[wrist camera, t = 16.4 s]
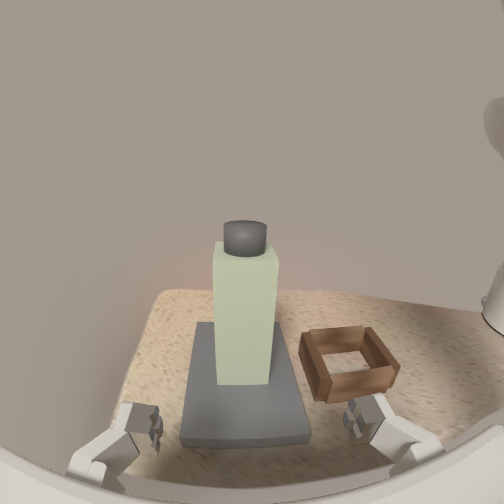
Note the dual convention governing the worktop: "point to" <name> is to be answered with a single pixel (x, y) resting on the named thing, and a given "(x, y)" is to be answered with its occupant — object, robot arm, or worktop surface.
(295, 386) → the slate board
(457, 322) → the worktop surface
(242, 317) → the spice grinder
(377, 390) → the walnut pocket
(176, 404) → the worktop surface
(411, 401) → the worktop surface
